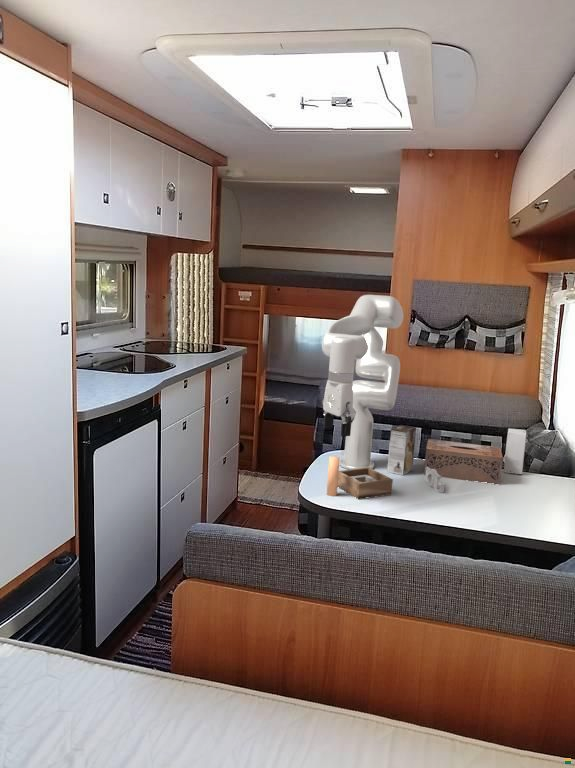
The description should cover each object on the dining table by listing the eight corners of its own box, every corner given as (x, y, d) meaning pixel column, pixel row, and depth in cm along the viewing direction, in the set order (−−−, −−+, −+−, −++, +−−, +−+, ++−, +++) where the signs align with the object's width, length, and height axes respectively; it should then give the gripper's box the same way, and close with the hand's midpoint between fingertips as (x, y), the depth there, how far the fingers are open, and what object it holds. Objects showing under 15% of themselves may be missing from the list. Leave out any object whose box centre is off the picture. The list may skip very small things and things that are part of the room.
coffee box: (396, 466, 227) (400, 423, 224) (412, 469, 223) (416, 427, 221) (386, 472, 219) (390, 428, 216) (403, 475, 216) (407, 431, 213)
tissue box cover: (496, 473, 226) (499, 447, 224) (499, 485, 212) (502, 457, 210) (425, 464, 232) (428, 438, 231) (423, 475, 218) (426, 448, 217)
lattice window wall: (444, 493, 200) (446, 476, 199) (439, 493, 200) (441, 476, 199) (428, 481, 212) (429, 464, 211) (423, 481, 211) (424, 464, 210)
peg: (324, 493, 193) (327, 456, 191) (333, 492, 195) (336, 455, 193) (330, 496, 191) (332, 459, 189) (338, 495, 192) (341, 458, 190)
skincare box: (521, 475, 224) (527, 434, 222) (502, 472, 226) (507, 431, 224) (521, 469, 232) (526, 429, 229) (503, 466, 234) (508, 427, 231)
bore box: (335, 485, 201) (336, 471, 200) (367, 481, 207) (368, 467, 206) (357, 499, 190) (359, 483, 189) (391, 494, 196) (392, 479, 195)
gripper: (315, 373, 192) (311, 426, 195) (346, 382, 177) (341, 440, 180) (335, 372, 196) (331, 424, 199) (367, 382, 181) (362, 438, 184)
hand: (336, 432), depth 189 cm, fingers open, 9 cm apart
